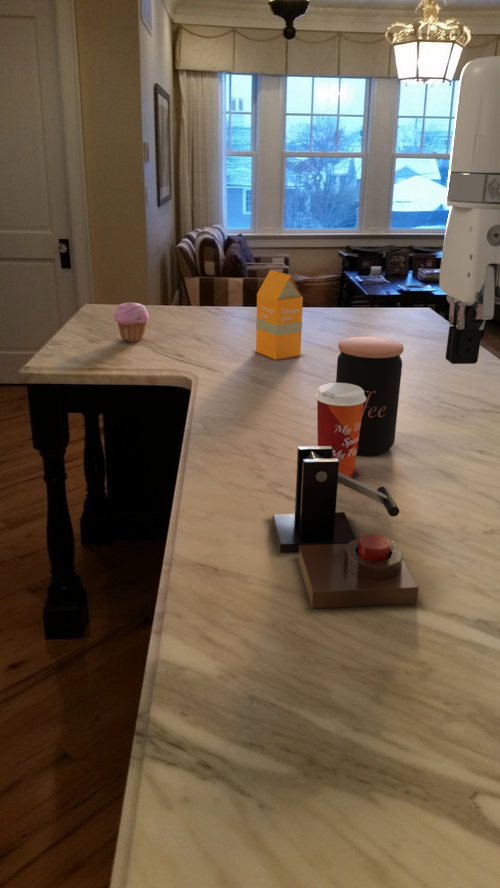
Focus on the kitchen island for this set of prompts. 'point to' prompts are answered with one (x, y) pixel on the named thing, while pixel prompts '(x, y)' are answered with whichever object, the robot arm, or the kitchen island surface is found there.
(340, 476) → the tap lever
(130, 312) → the cupcake
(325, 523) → the bracket
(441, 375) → the kitchen island surface
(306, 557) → the button block
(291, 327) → the orange juice
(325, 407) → the paper cup
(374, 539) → the button
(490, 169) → the robot arm
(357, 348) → the coffee jar
